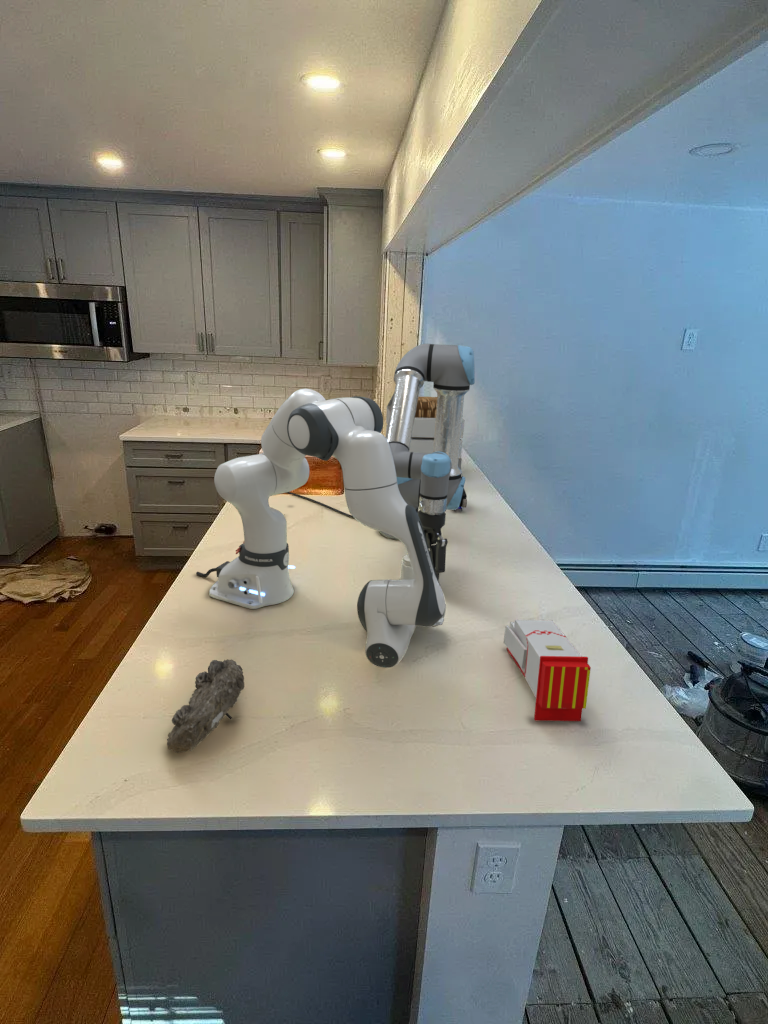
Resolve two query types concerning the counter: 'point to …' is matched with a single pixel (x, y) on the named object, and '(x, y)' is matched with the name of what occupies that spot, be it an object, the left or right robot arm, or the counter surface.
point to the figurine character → (463, 501)
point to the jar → (406, 569)
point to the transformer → (425, 426)
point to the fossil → (206, 705)
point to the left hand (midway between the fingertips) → (409, 592)
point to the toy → (549, 668)
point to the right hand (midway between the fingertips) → (426, 586)
